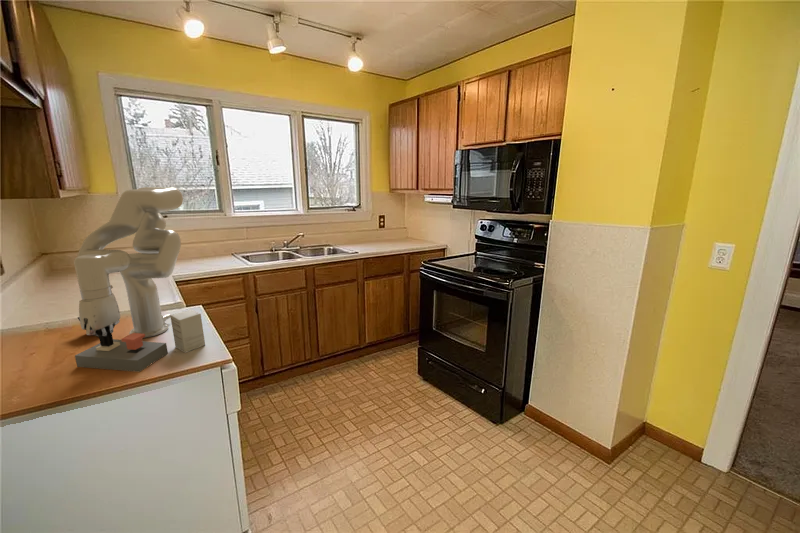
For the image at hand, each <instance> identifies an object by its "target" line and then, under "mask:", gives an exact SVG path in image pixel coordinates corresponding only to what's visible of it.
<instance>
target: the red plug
mask: <svg viewBox="0 0 800 533" xmlns="http://www.w3.org/2000/svg"><path fill="white" fill-rule="evenodd" d="M144 337H145V334H141V333H132V334H128V335H127V336H124V337H122V338H121V339H120V340H122V342H126V345H127V349H132V350H136V349H138V348H140V347H142V346H143V342H142V341H143V339H145V338H144Z"/></svg>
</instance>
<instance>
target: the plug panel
mask: <svg viewBox="0 0 800 533" xmlns="http://www.w3.org/2000/svg"><path fill="white" fill-rule="evenodd" d="M113 342H120V345H119V346H117V347H116V348H114V349H112V350H110V351H99V350H96V347H98V346H100V345H101V344H100V342H99V343H97V344H95V345H93V346H91V347H89V348H87V349H85V350H84V351H80V352H79V353H77V354H75V355H74V358H75V359H74V360H75V363H76V366H77V368H87V369H88V368H89V369H99V370H101V369H102V370H111V369H112V371H125V372H135V373H141V371H143V370H144V369H147V368H148V367H149V366H151V365H152V364H154V363H155V362H157V361H158V359H159V358H160V359H161V357H162V356H163V357H165V356H166V355H168V354H169V353H168V347H167V342H159V341H144V340H142V342H143V346H142V347H140V348H138V349H136V350H132V349H127V345H126V342H122V340H121V339H117V338H116V339H114V338H113ZM164 355H165V356H164ZM163 357H162V358H163ZM160 359H159V360H160ZM156 360H157V361H156ZM154 361H155V362H154ZM153 362H154V363H153ZM151 363H152V364H151ZM150 364H151V365H150ZM147 366H148V367H147Z"/></svg>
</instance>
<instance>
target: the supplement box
mask: <svg viewBox="0 0 800 533" xmlns="http://www.w3.org/2000/svg"><path fill="white" fill-rule="evenodd" d="M170 317H171V318H170V322H171V328H172V329H171V330H172V333H173V335H172V336H173V340H174V341H173V342H174V346H175V348H177V349H179V350H180V351H181V352H183V353H188V352H190V351H193V350H196V349H198V348H201V347H204V346H205V345H206V342H205V336H204V329H203V328H204V327H203V321H202V313H200V312H197V311H195V310H193V309H191V308H190V309H186V310H184V311H180V312H176V313H173V314H170Z"/></svg>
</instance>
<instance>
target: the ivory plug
mask: <svg viewBox="0 0 800 533" xmlns="http://www.w3.org/2000/svg"><path fill="white" fill-rule="evenodd" d="M113 343H114V344H113V345H111V346H109V347H108V346H101V345H100V346H98V347H96V350H99V351H110V350H112V349H114V348H116V347H117V346H119V345H120V342H113Z"/></svg>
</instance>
